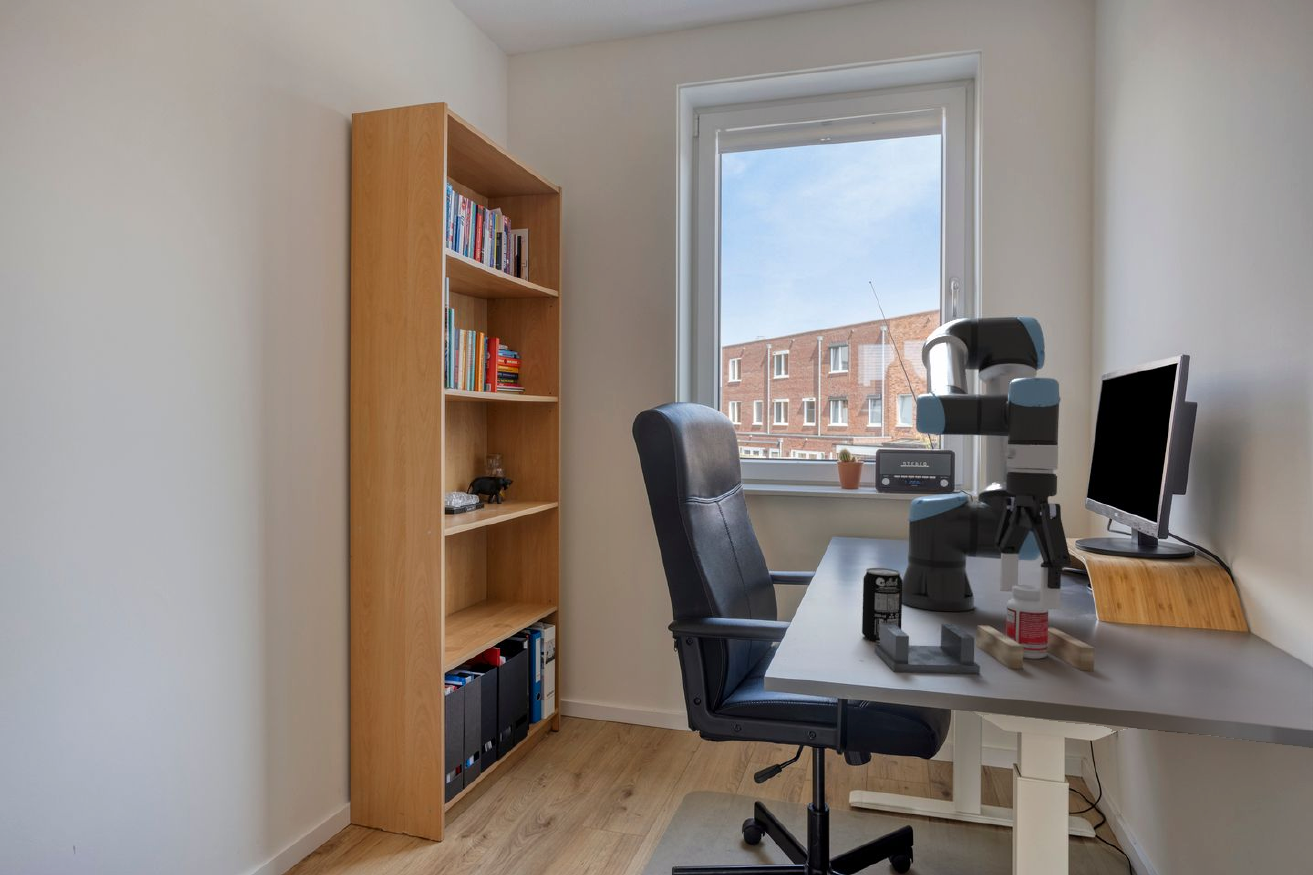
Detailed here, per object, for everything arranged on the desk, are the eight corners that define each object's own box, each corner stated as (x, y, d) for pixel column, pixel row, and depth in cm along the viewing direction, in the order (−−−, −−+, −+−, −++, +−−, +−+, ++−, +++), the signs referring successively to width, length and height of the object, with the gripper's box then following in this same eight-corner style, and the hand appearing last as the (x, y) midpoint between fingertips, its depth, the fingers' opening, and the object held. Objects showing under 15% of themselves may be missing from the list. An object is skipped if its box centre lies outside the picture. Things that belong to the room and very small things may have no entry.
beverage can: (873, 631, 134) (875, 565, 134) (907, 639, 130) (909, 571, 129) (854, 637, 130) (856, 570, 130) (889, 646, 125) (891, 575, 125)
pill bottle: (1054, 656, 122) (1056, 589, 122) (1034, 661, 118) (1036, 593, 118) (1018, 646, 127) (1020, 582, 127) (998, 651, 123) (999, 585, 123)
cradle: (874, 651, 122) (875, 620, 122) (953, 653, 122) (954, 622, 122) (893, 671, 112) (894, 637, 112) (979, 673, 112) (980, 639, 112)
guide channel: (976, 645, 127) (977, 625, 127) (1052, 647, 127) (1053, 627, 127) (1009, 668, 115) (1010, 646, 115) (1093, 670, 115) (1094, 648, 115)
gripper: (976, 467, 135) (973, 584, 135) (1048, 473, 110) (1044, 616, 110) (1017, 469, 135) (1014, 585, 135) (1099, 475, 110) (1095, 618, 110)
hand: (1028, 599), depth 122 cm, fingers open, 13 cm apart
